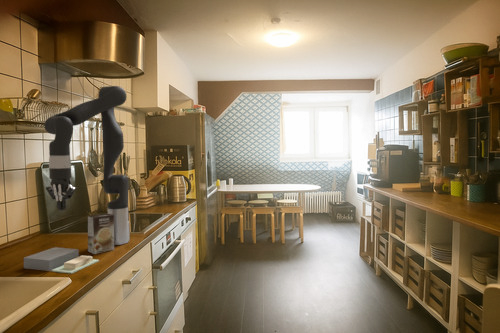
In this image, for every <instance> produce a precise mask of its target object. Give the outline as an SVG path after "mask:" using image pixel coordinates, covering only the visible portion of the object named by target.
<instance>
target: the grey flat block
mask: <svg viewBox="0 0 500 333" xmlns="http://www.w3.org/2000/svg"><path fill="white" fill-rule="evenodd" d="M79 256H80V254H79V249H78V248H68V247H67V248H65V247H57V246H56V247H51V248H49V249H45V250H42V251H40V252H37V253H34V254H31V255H27V256H25V257H23V269H27V270H28V269H29V270H35V271H36V270H37V271H38V270H39V271H45V272H52V270H53V269H55V268H58V267H60V266H62V265H64V263H65V262H67V261H70V260H72V259H75V258H77V257H79Z"/></svg>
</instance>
